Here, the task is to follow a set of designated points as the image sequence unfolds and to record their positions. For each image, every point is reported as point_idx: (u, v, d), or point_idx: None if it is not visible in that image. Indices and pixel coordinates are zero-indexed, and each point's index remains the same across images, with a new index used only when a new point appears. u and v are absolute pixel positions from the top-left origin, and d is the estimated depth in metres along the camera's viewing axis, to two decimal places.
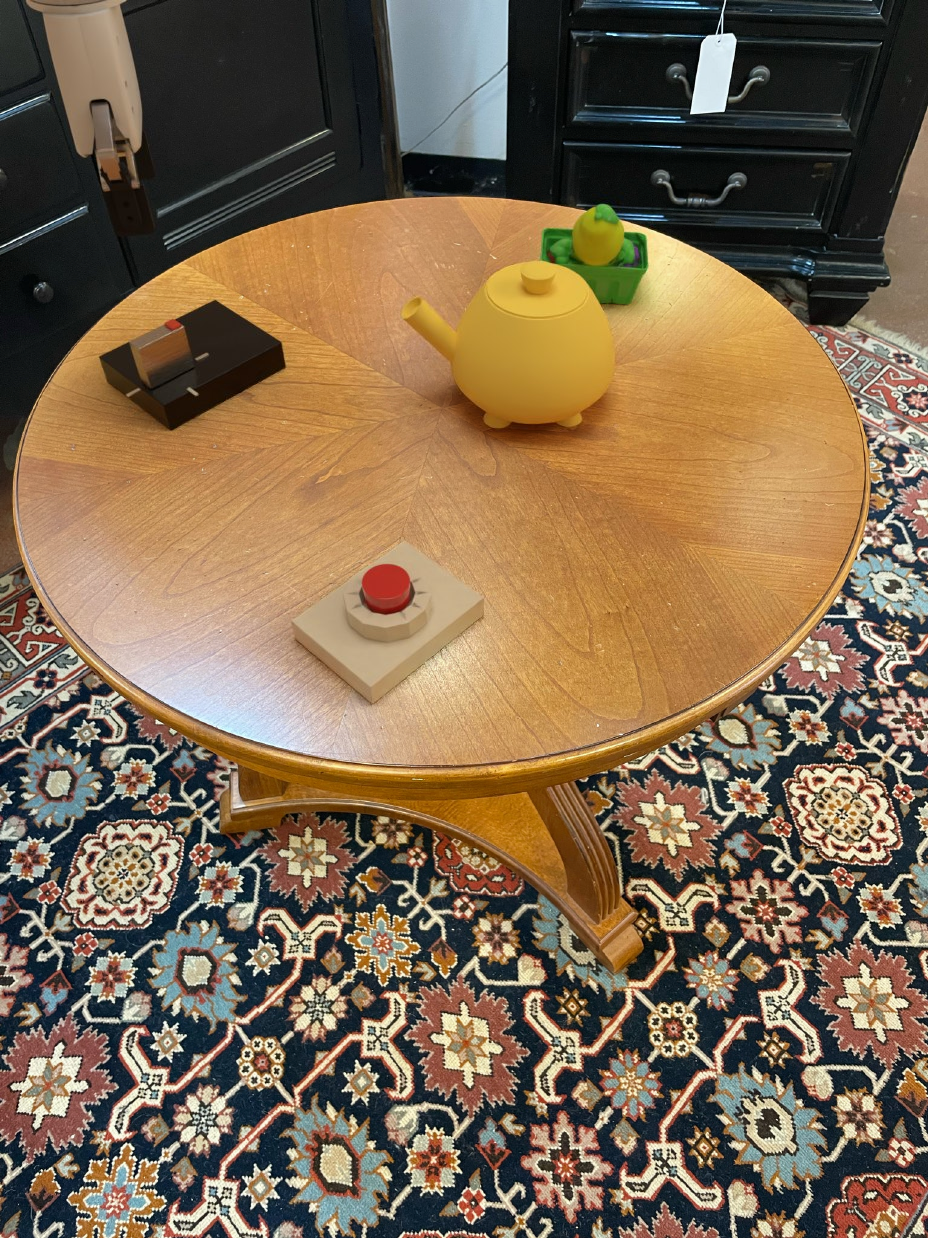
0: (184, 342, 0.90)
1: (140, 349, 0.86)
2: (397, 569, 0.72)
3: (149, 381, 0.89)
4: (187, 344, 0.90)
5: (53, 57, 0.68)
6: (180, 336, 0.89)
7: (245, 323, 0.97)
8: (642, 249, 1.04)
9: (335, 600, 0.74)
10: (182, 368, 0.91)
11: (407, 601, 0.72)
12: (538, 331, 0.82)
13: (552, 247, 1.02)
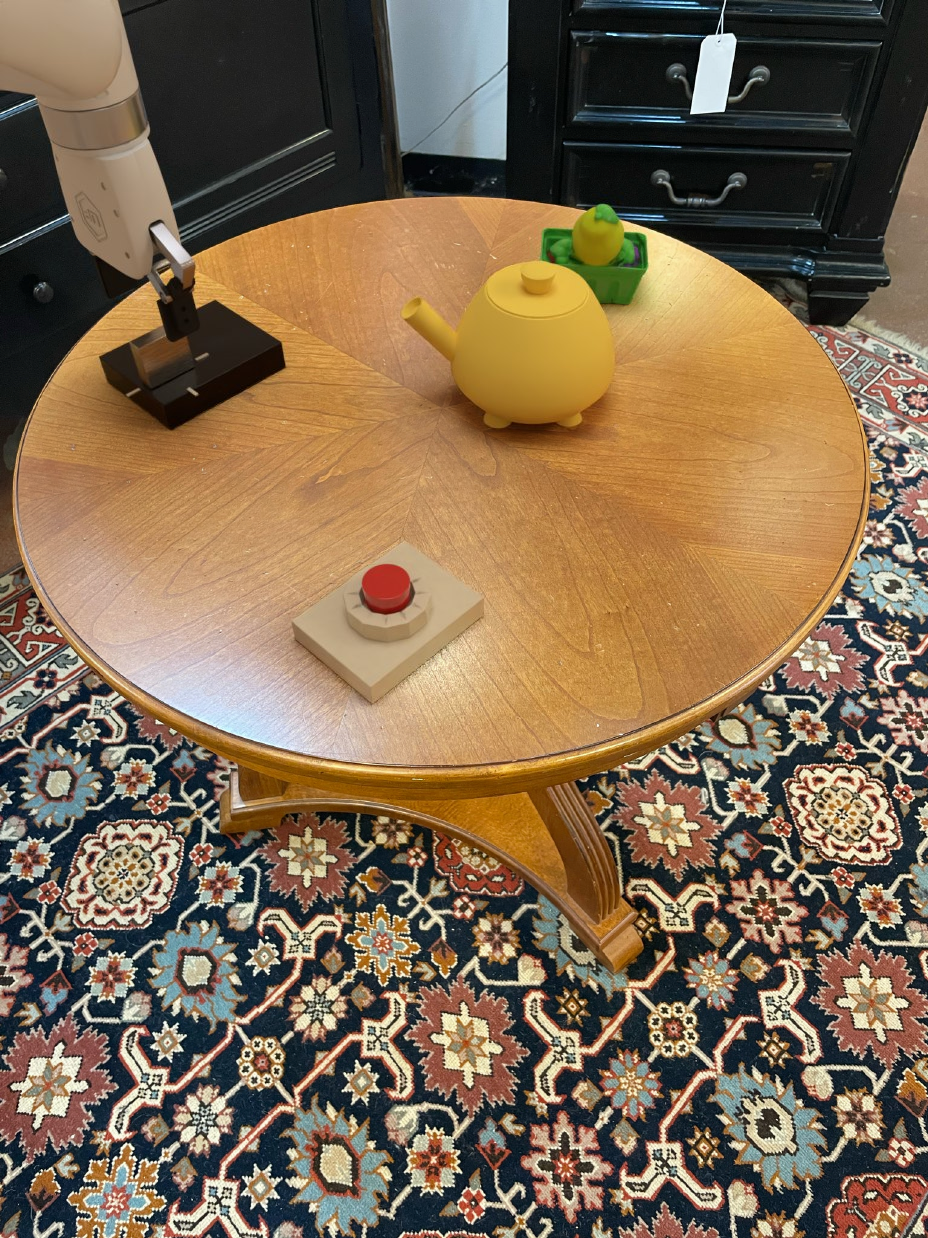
0: (184, 342, 0.90)
1: (140, 349, 0.86)
2: (397, 569, 0.72)
3: (149, 381, 0.89)
4: (187, 344, 0.90)
5: (115, 195, 0.73)
6: None
7: (245, 323, 0.97)
8: (642, 249, 1.04)
9: (335, 600, 0.74)
10: (182, 368, 0.91)
11: (407, 601, 0.72)
12: (538, 331, 0.82)
13: (552, 247, 1.02)
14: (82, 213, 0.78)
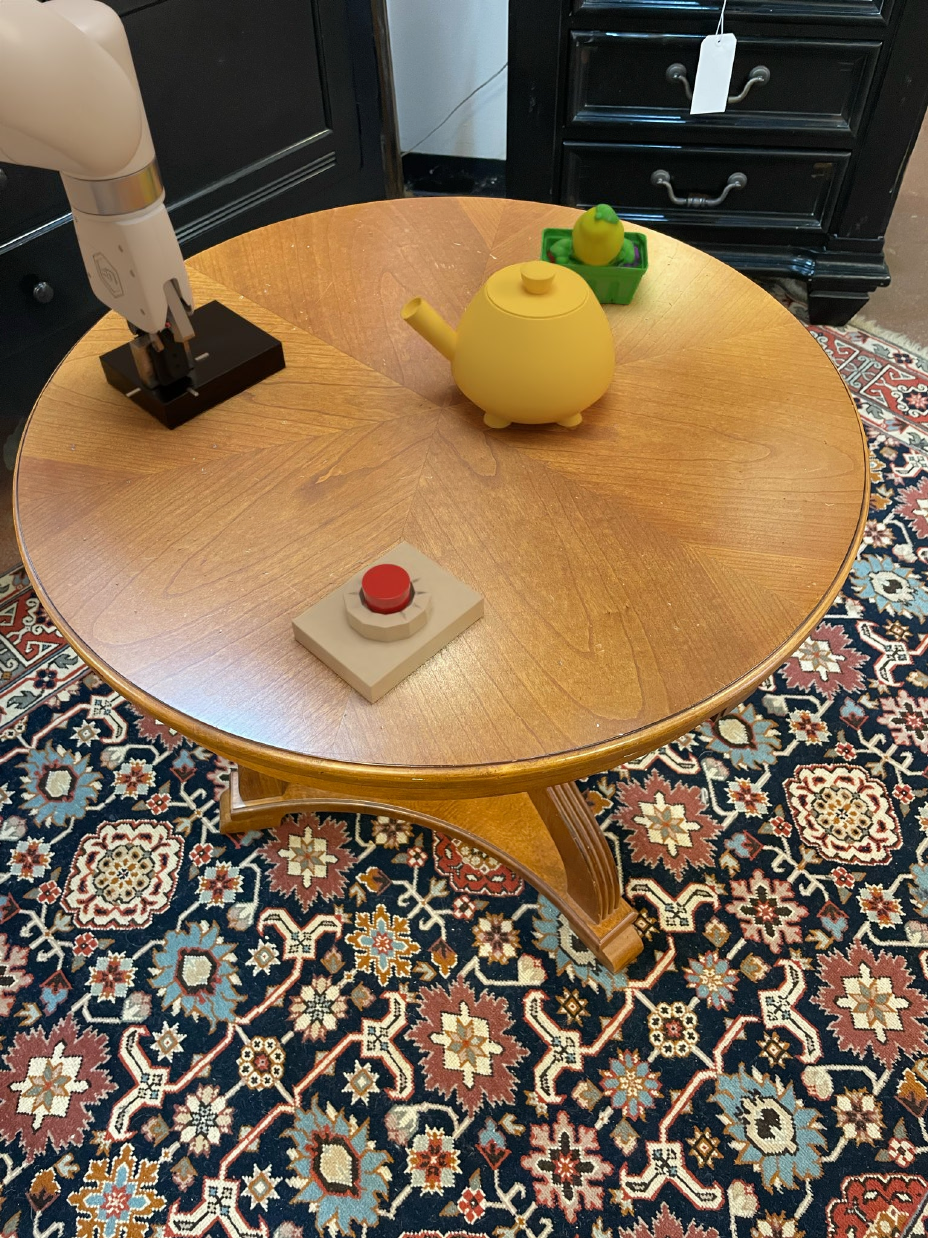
0: (184, 342, 0.90)
1: (140, 349, 0.86)
2: (397, 569, 0.72)
3: (149, 381, 0.89)
4: (187, 344, 0.90)
5: (132, 257, 0.77)
6: None
7: (245, 323, 0.97)
8: (642, 249, 1.04)
9: (335, 600, 0.74)
10: None
11: (407, 601, 0.72)
12: (538, 331, 0.82)
13: (552, 247, 1.02)
14: (99, 271, 0.82)
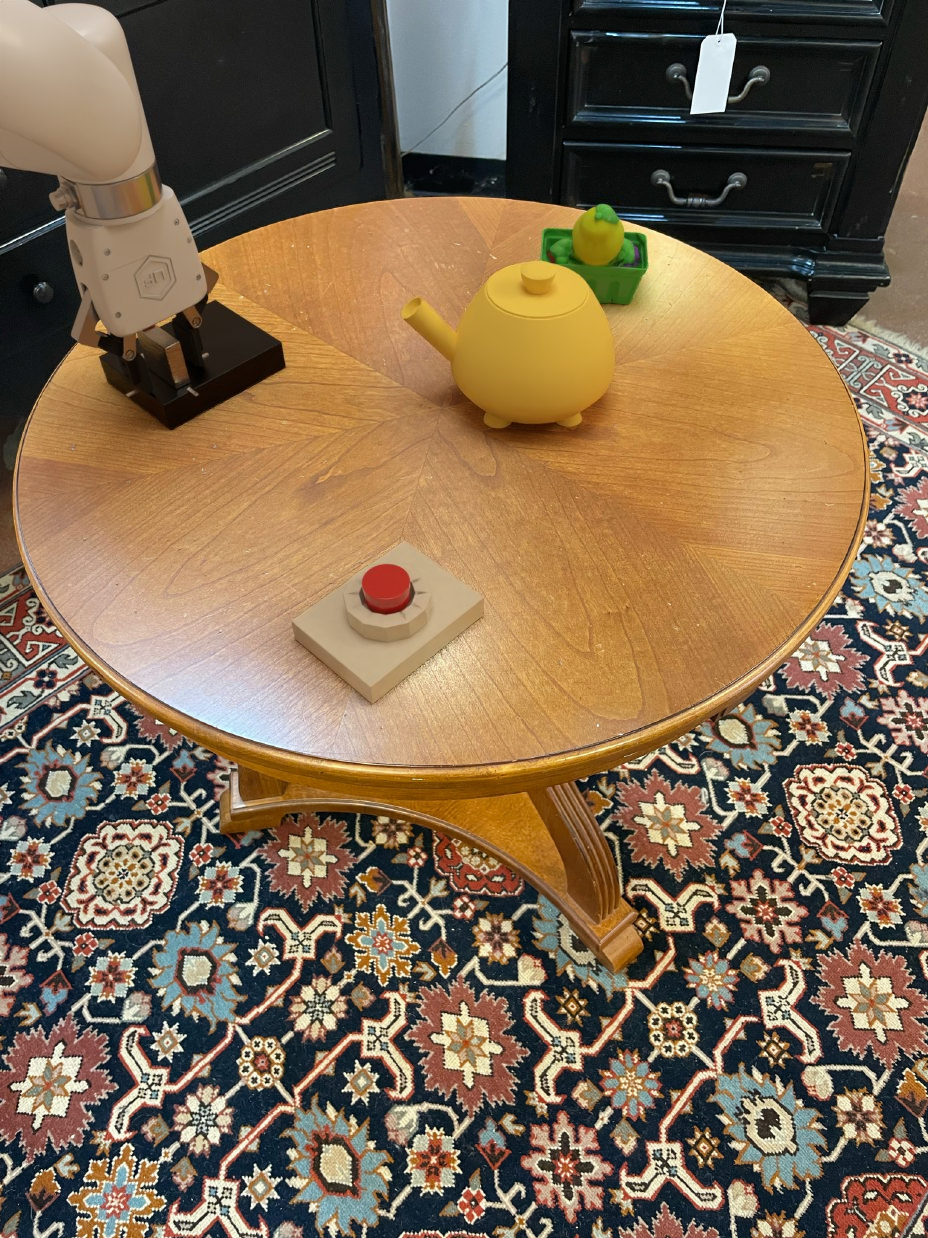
0: None
1: (178, 342, 0.87)
2: (397, 569, 0.72)
3: None
4: None
5: (186, 221, 0.81)
6: None
7: (245, 323, 0.97)
8: (642, 249, 1.04)
9: (335, 600, 0.74)
10: None
11: (407, 601, 0.72)
12: (538, 331, 0.82)
13: (552, 247, 1.02)
14: (140, 287, 0.81)
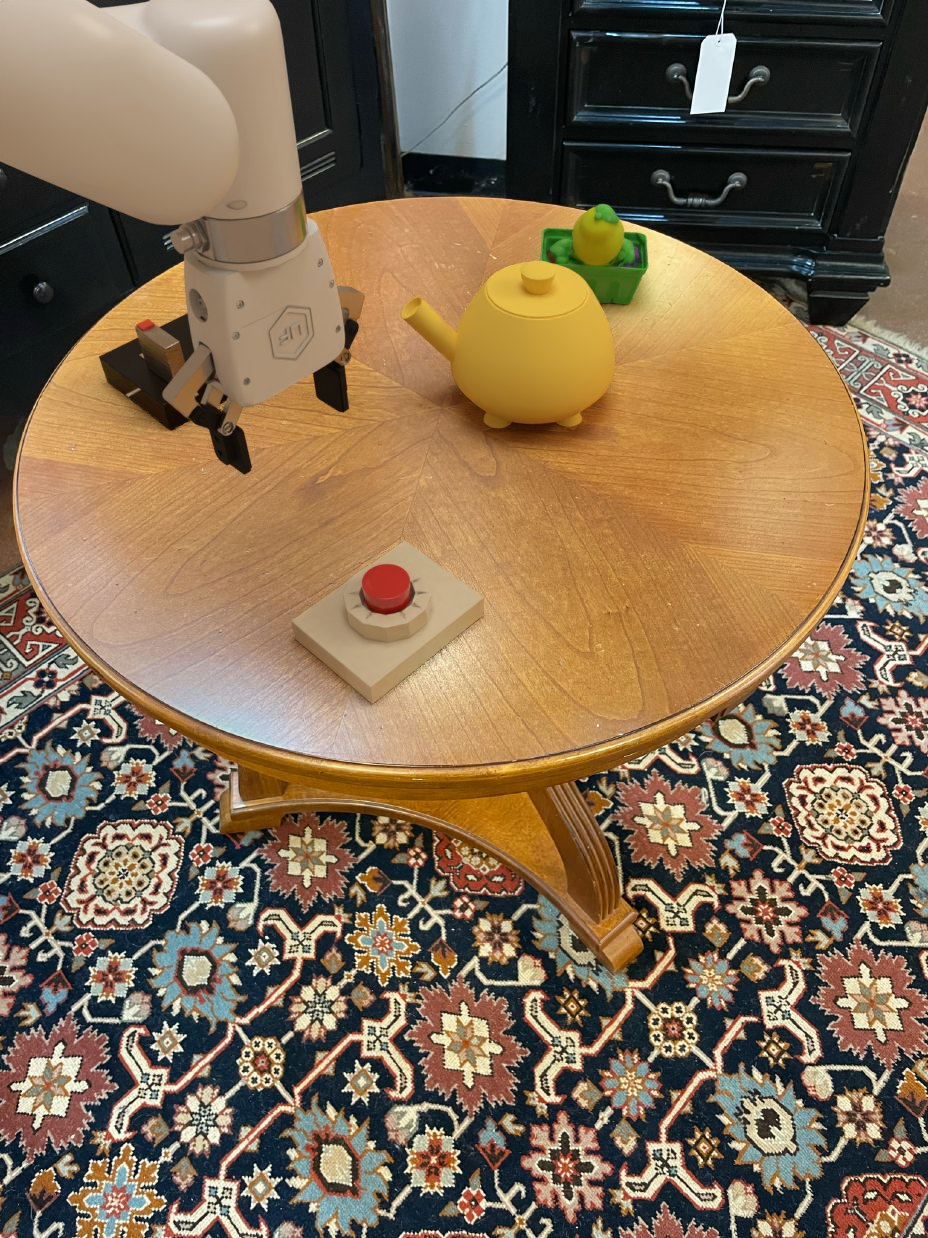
0: None
1: (178, 342, 0.87)
2: (397, 569, 0.72)
3: None
4: None
5: None
6: None
7: None
8: (642, 249, 1.04)
9: (335, 600, 0.74)
10: None
11: (407, 601, 0.72)
12: (538, 331, 0.82)
13: (552, 247, 1.02)
14: (274, 346, 0.64)
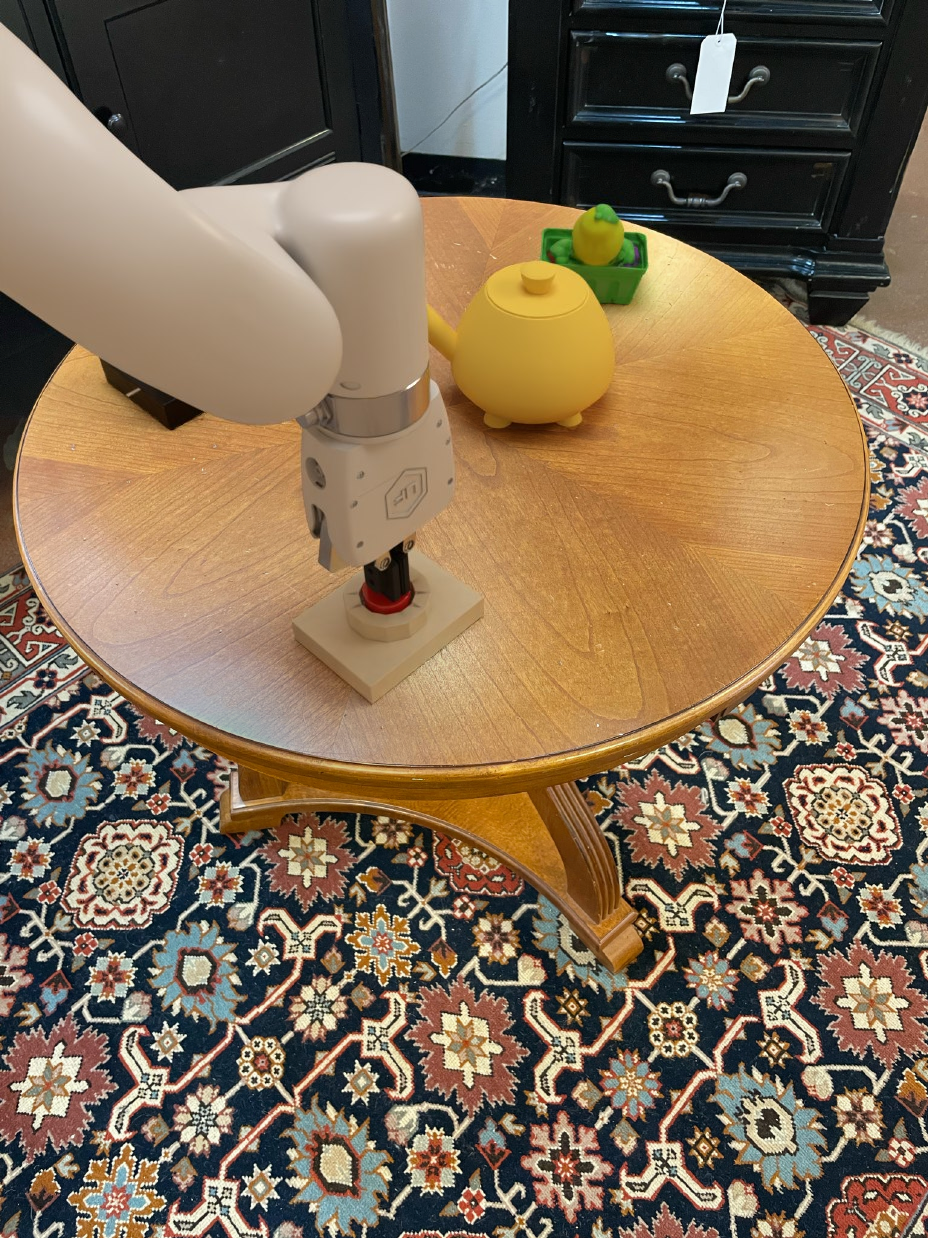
0: None
1: None
2: None
3: None
4: None
5: None
6: None
7: None
8: (642, 249, 1.04)
9: (335, 600, 0.74)
10: None
11: None
12: (538, 331, 0.82)
13: (552, 247, 1.02)
14: (389, 508, 0.61)
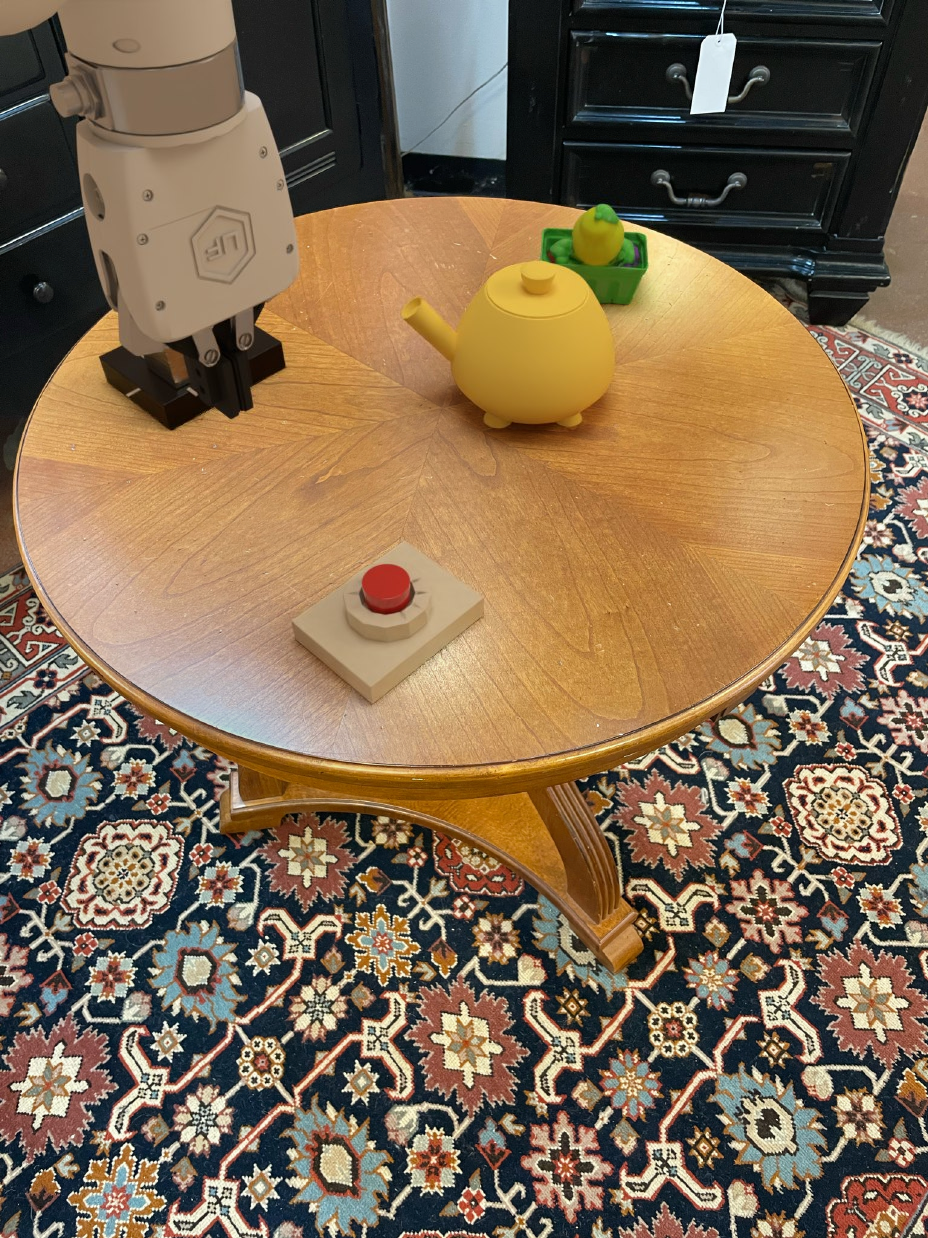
0: None
1: None
2: (397, 569, 0.72)
3: None
4: None
5: (278, 153, 0.49)
6: None
7: None
8: (642, 249, 1.04)
9: (335, 600, 0.74)
10: None
11: (407, 601, 0.72)
12: (538, 331, 0.82)
13: (552, 247, 1.02)
14: (199, 260, 0.48)
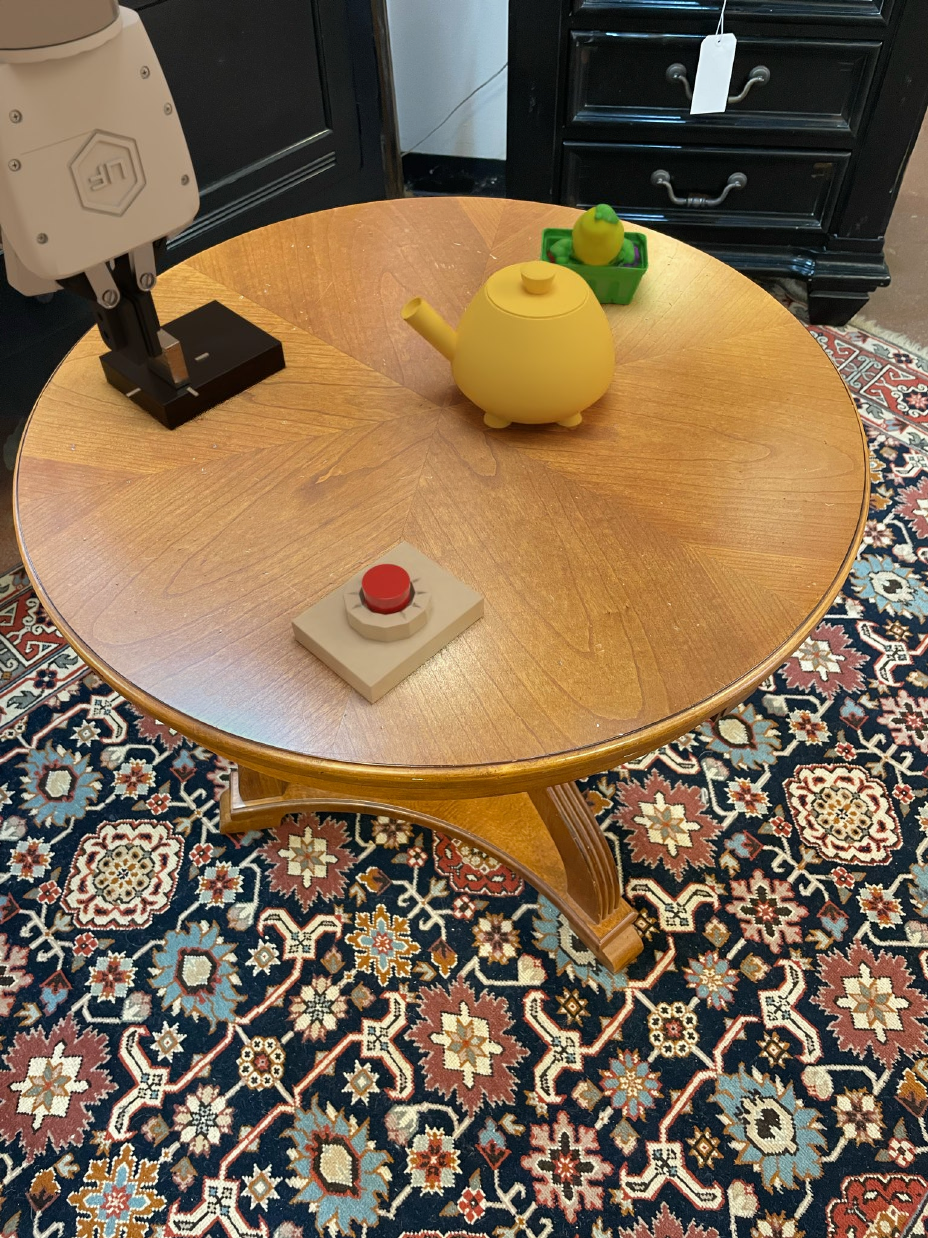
0: None
1: (178, 342, 0.87)
2: (397, 569, 0.72)
3: None
4: None
5: (162, 74, 0.46)
6: None
7: (245, 323, 0.97)
8: (642, 249, 1.04)
9: (335, 600, 0.74)
10: None
11: (407, 601, 0.72)
12: (538, 331, 0.82)
13: (552, 247, 1.02)
14: (82, 190, 0.46)
